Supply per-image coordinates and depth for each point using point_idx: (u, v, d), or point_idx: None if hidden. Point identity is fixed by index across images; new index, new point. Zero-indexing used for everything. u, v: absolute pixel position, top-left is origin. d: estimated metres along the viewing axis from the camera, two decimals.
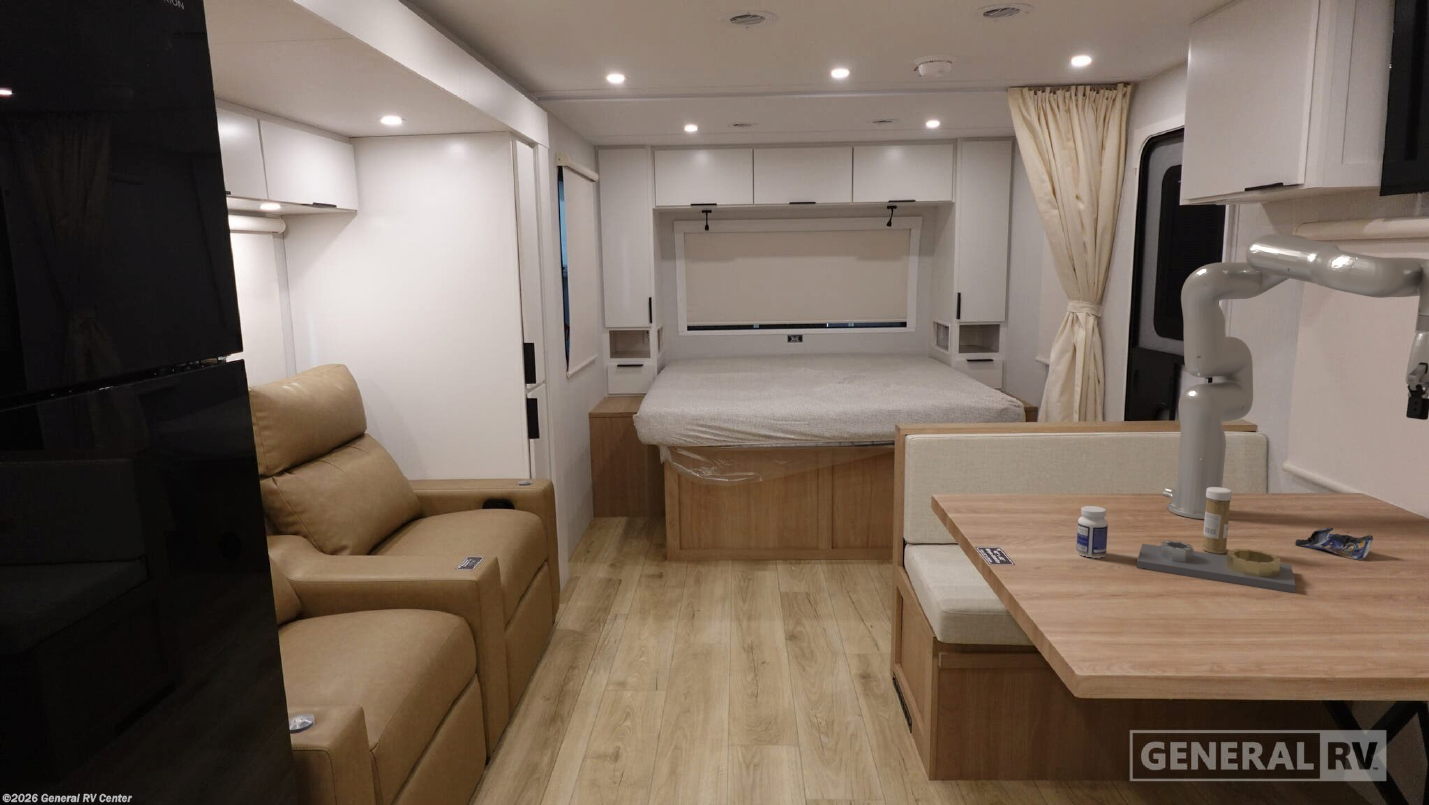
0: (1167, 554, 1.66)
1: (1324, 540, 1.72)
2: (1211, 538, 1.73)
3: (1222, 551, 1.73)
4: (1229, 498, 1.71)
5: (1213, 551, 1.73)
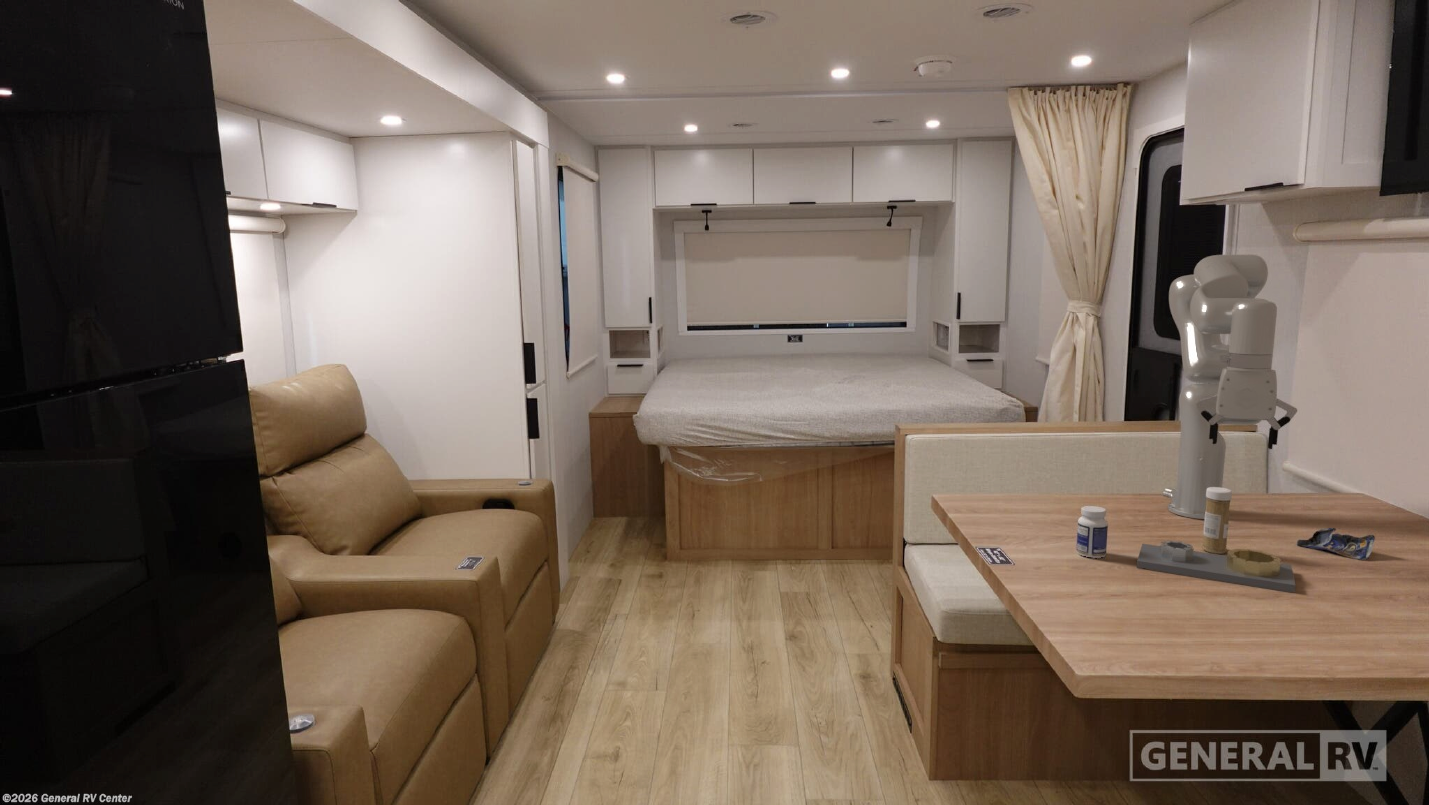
0: (1167, 554, 1.66)
1: (1327, 540, 1.72)
2: (1211, 538, 1.73)
3: (1222, 551, 1.73)
4: (1229, 498, 1.71)
5: (1213, 551, 1.73)
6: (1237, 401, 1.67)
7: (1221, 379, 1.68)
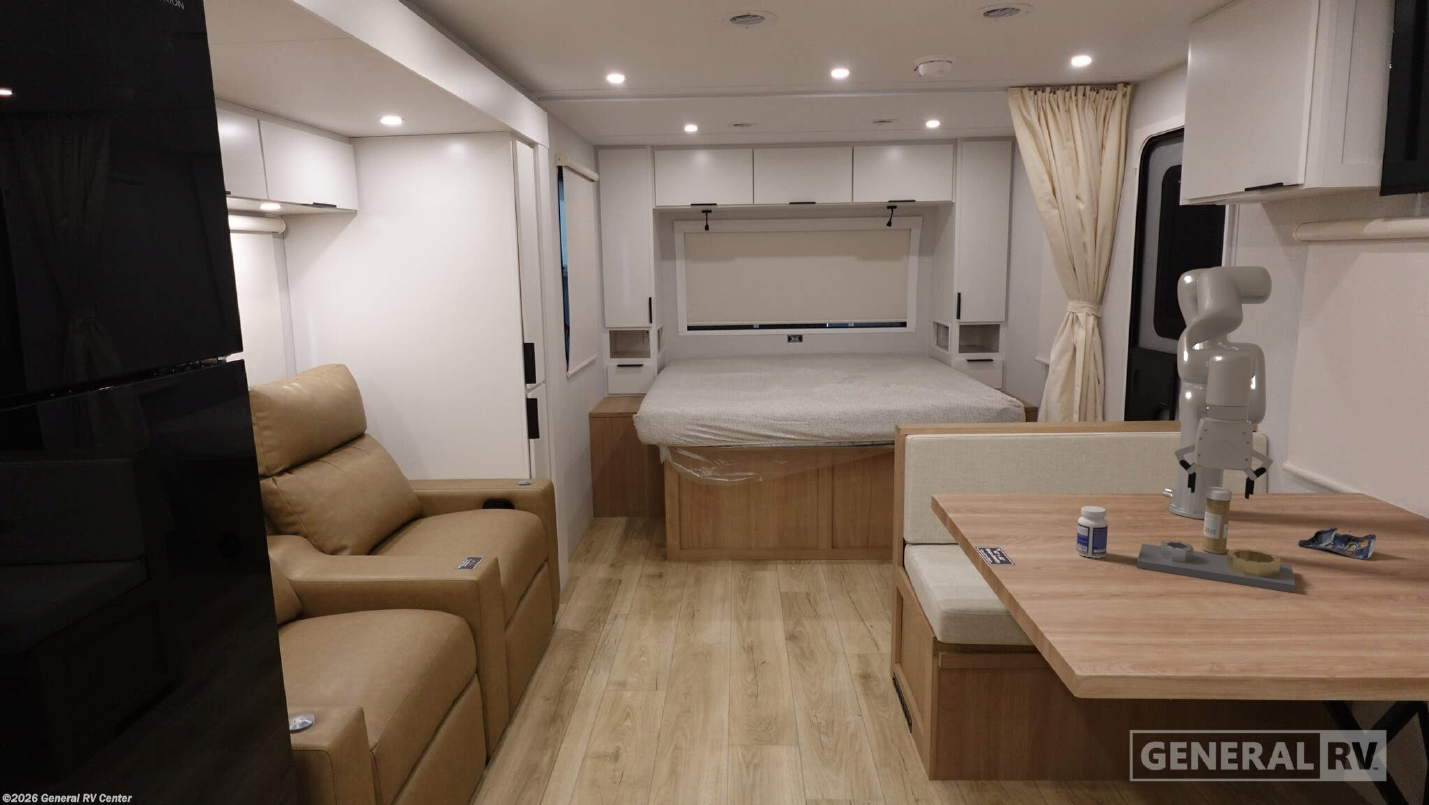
0: (1167, 554, 1.66)
1: (1329, 540, 1.72)
2: (1211, 538, 1.73)
3: (1222, 551, 1.73)
4: (1229, 498, 1.71)
5: (1213, 551, 1.73)
6: (1214, 451, 1.69)
7: (1199, 429, 1.71)
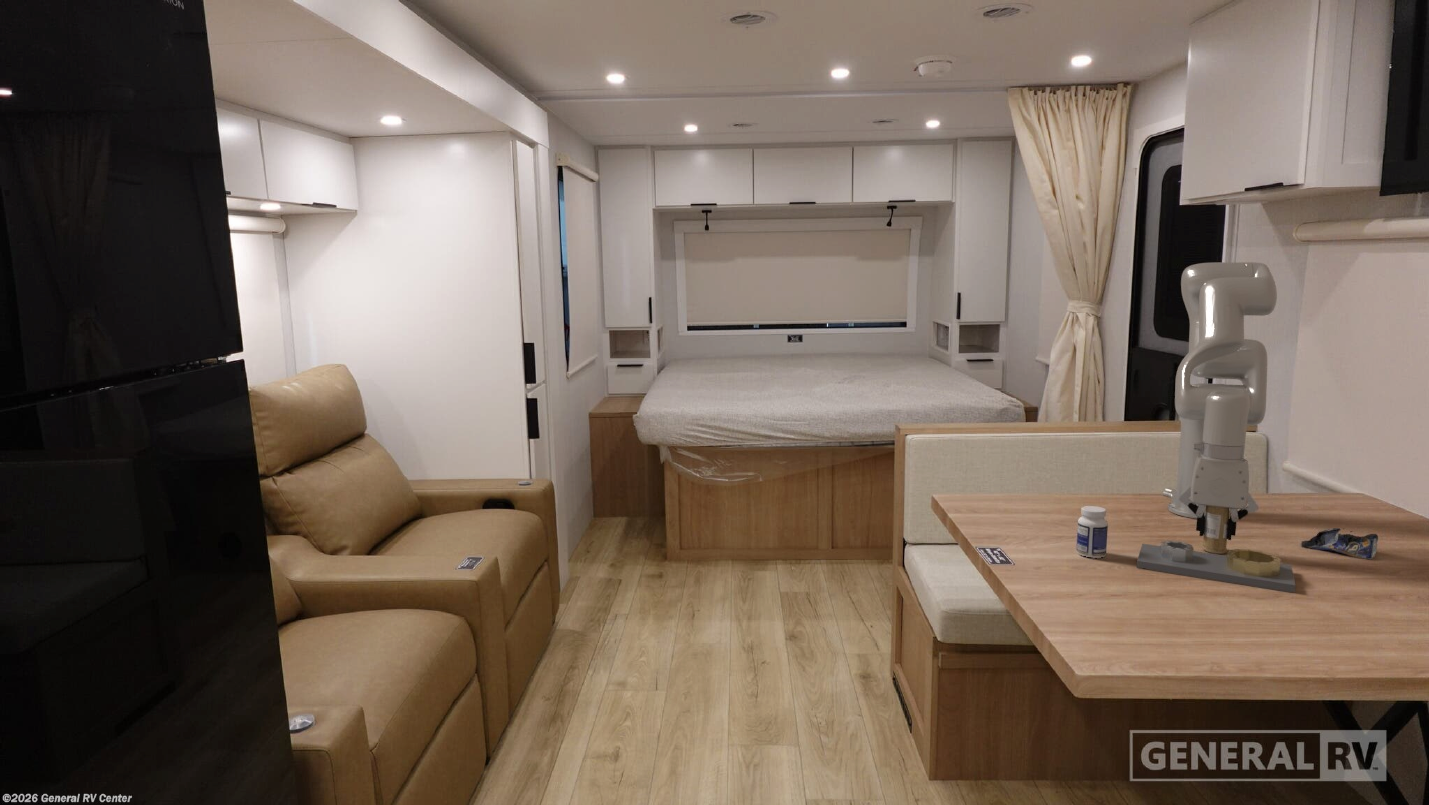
0: (1167, 554, 1.66)
1: (1334, 541, 1.72)
2: (1211, 538, 1.73)
3: (1222, 551, 1.73)
4: None
5: (1213, 551, 1.73)
6: (1211, 489, 1.71)
7: (1195, 467, 1.73)
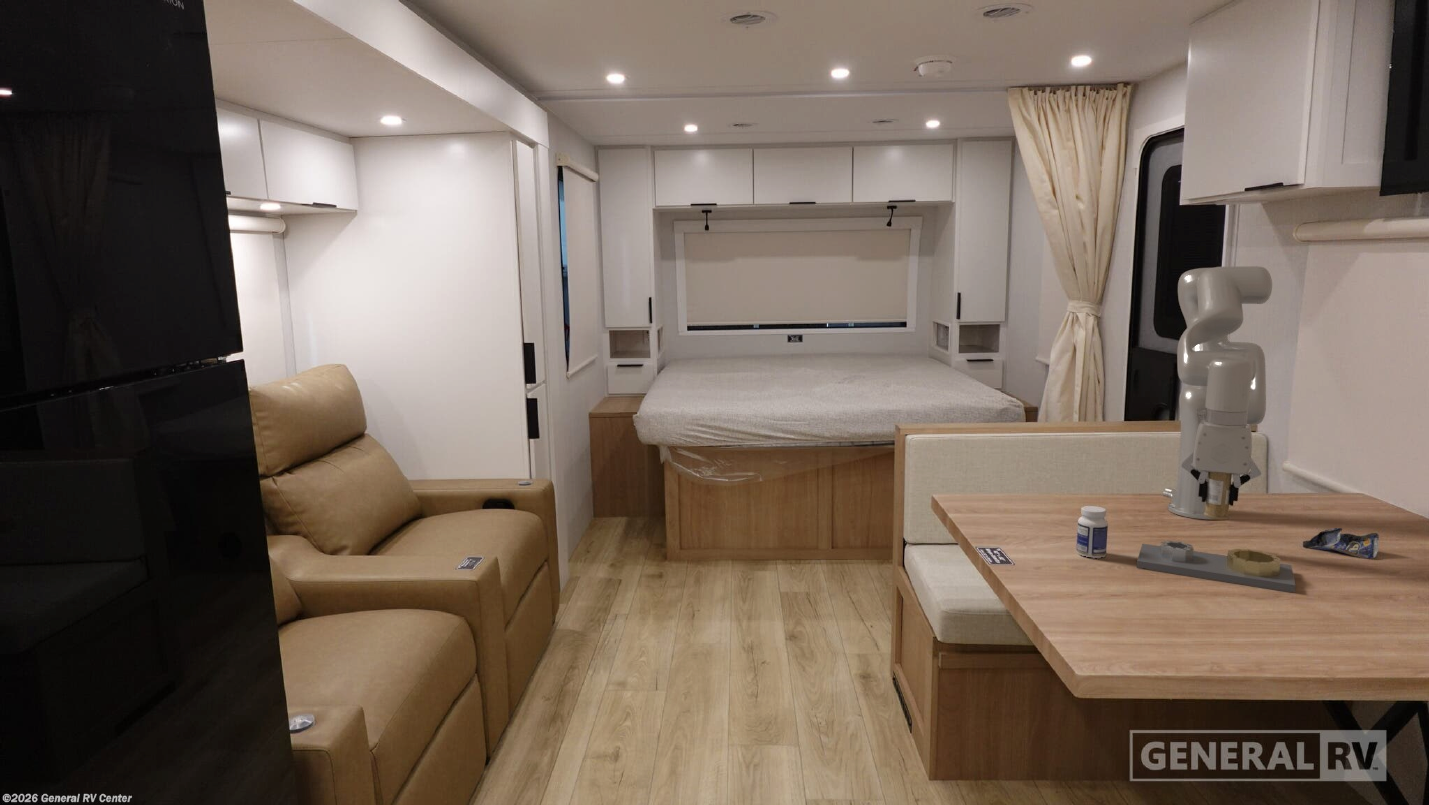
0: (1167, 554, 1.66)
1: (1336, 541, 1.72)
2: (1214, 504, 1.73)
3: (1224, 517, 1.72)
4: None
5: (1215, 517, 1.73)
6: (1213, 456, 1.70)
7: (1198, 433, 1.72)
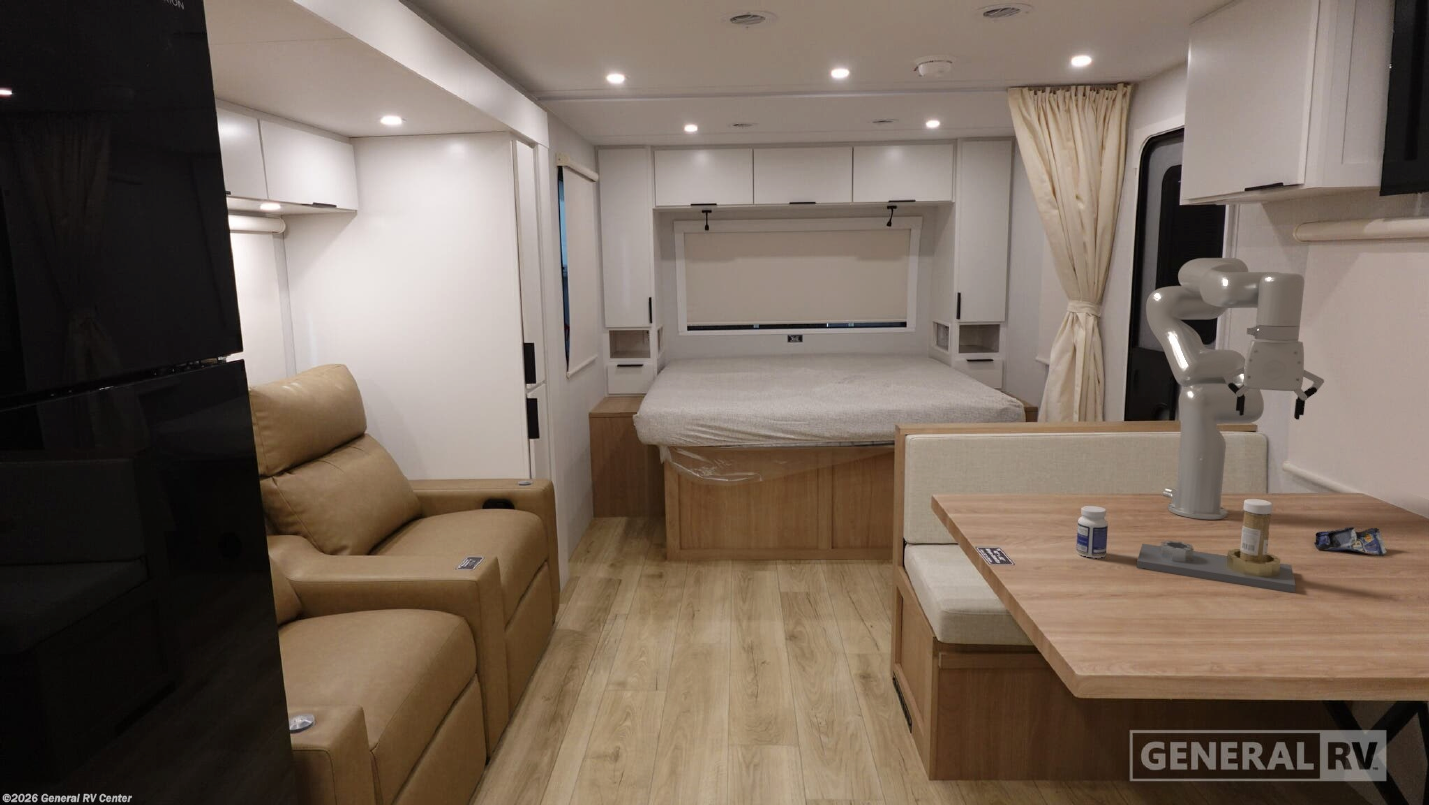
0: (1167, 554, 1.66)
1: (1353, 541, 1.71)
2: (1250, 555, 1.58)
3: None
4: (1269, 511, 1.56)
5: None
6: (1265, 372, 1.69)
7: (1248, 351, 1.71)
